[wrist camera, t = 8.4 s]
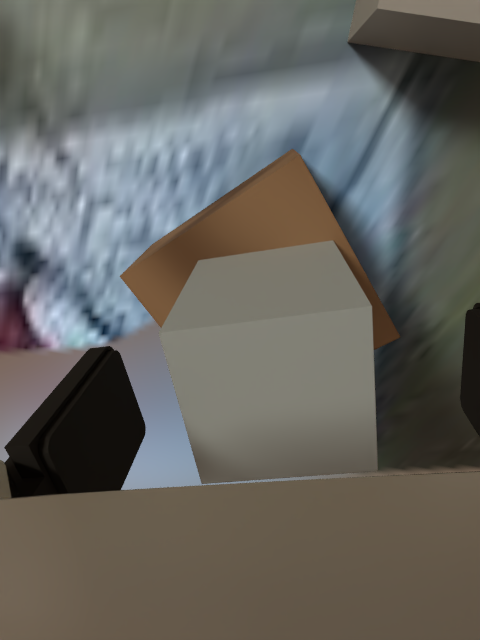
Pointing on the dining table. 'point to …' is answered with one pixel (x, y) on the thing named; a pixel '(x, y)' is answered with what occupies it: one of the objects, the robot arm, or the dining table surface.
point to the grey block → (419, 26)
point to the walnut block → (249, 238)
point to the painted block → (274, 365)
